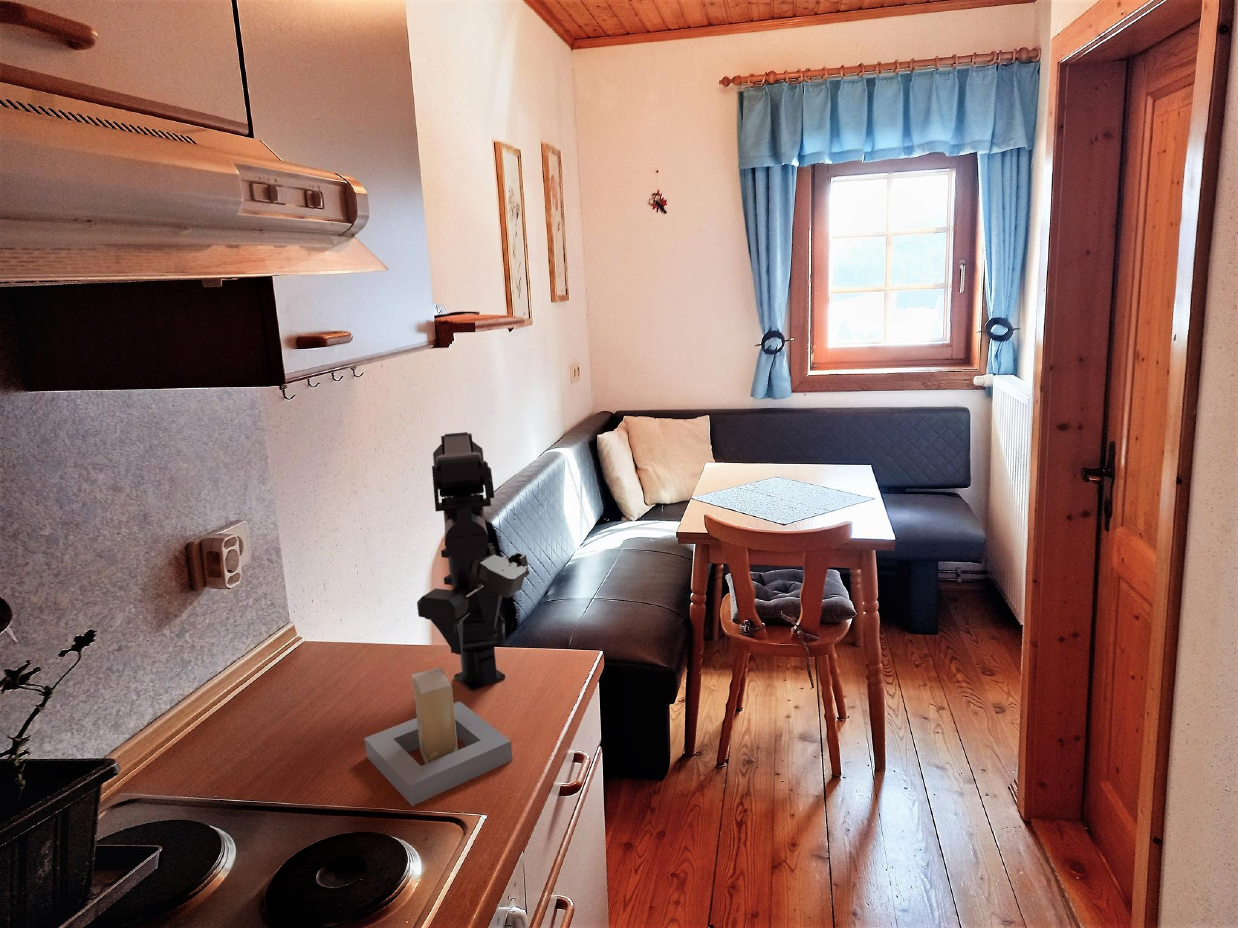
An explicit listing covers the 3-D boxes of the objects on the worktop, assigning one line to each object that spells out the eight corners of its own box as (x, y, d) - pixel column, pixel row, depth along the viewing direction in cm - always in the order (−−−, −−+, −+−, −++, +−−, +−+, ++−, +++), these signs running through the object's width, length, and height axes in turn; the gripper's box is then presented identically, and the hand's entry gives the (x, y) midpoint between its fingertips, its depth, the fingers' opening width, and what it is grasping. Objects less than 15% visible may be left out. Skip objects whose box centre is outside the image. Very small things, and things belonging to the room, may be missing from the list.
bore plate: (366, 756, 118) (364, 737, 118) (461, 718, 127) (459, 700, 127) (412, 806, 107) (409, 785, 106) (512, 760, 116) (510, 740, 115)
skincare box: (419, 751, 119) (410, 672, 116) (449, 742, 121) (441, 665, 118) (429, 774, 114) (420, 692, 111) (460, 765, 115) (452, 684, 113)
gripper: (480, 566, 109) (489, 676, 112) (545, 525, 126) (552, 622, 129) (409, 559, 113) (421, 665, 117) (482, 521, 130) (490, 614, 133)
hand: (475, 640), depth 124 cm, fingers open, 9 cm apart
